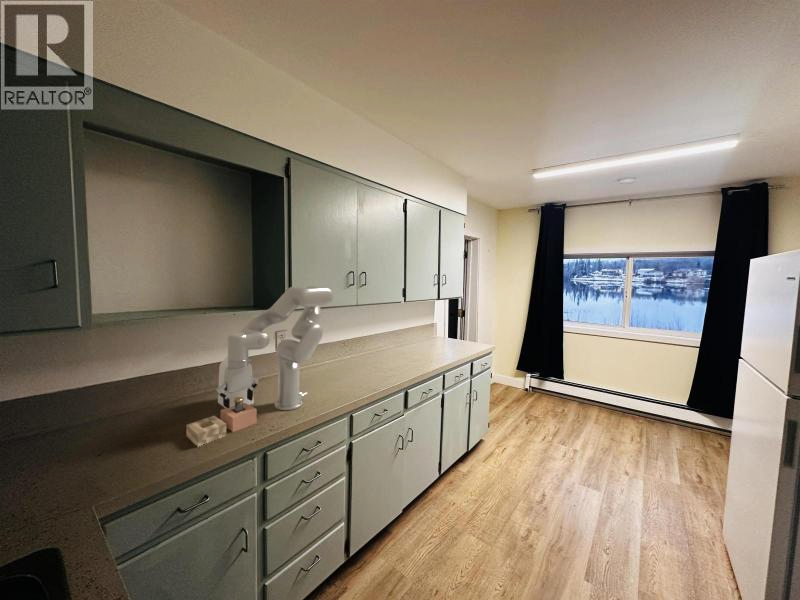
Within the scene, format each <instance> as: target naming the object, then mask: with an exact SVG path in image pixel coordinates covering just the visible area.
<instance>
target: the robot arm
mask: <svg viewBox="0 0 800 600" xmlns="http://www.w3.org/2000/svg"><path fill="white" fill-rule="evenodd" d="M333 298H334V293H333V292H332V290H331V289H330V288H329V287H325V286H318V285H308V286H306V287H301V286H290V287H288V289H286V290H285V292H284V293H283V294H282V295H280V297H279V298H278V299H277V301H275V303H273V305H272V306H271V307H269V308H267V310H265V311H263V312H261V313H259V314H258V315H256V316H255V317H253V318H252V319H251V320H250V321H249V322H248V323H247V324H246V325H245V326H244V327H243V328H242V330H241V331H240V332H233V333H230V334H229V335H228V336H227V356H228V367H226V369H225V374H224V383H223V385H221V386H220V387H219V386H218V387H219V388H218V387H217V388H216V389H215V392H216V393H217V395H218V394H219V395H220V396H221V397H223V405H224V406H225V407H226V408H229V407H230V399H229V398H228V397H229V396H230V394H231V393H234V392H237V391H241V390H244V389H247V388H248V390H247V399H248V400H250V401H252V400H253V395H254V391H255V388H257V386H258V384H259V380H260V379H259V378H257V377H254V376H253V372H252V373H251V368H250V365H249V363H250V362H251V361H252V358H251V357H249V351H250V350H251V351H252V350H262V349H265V348H266V347H267V346H268V345H269V344H270V341H271V340H270V336H269V335H268V334H267V333H266V332H264V330H265V329H266V328H268V327H270V326H272V325H275V324H276V325H277V324H280V323H282V322H285V321H286V320H288V318H289V317H290V316H291V315H292V314H293V312H295V310H296V309H297V308H298V307H299V306H300V307H304V309H303V310H302V313H301V314H300V316H299V318H298V319H297V320H296V322H294V323H295V324H294V325H293V327H292V329H291V332H290V333H291V335H292V337H293V338H294V339H295V340H293V339H291V338H289V339H288V338H285V339H282V340H280V342H278V343H277V346H276V350H275V353H276V360H277V371H278V373H277V379H278V380H277V388H278V389H277V400H276V401H275V402H274V408H275V409H277V410H279V411H291V410H296V409H298V408H300V407H301V406H302V405H303V400H302V399H303V398H305V397H307V396H308V394H309V393H308V392H307V391H306V392H302V391H300V371H301V370H300V365H305V363H307V362H308V361H309V360H310V358H311V357H312V356H313V353H314V352H315V351H316V349H317V347H318V346H319V344H320V342H321V340H322V338H323V328H322V327H321V325H320V324H319V323H318V322H319V320H320V318H321V314H322V310H321V309H322V308H321V306H326V305H329V304H331V302H332V301H333ZM297 340H299V341H297ZM252 380H253V384H252ZM223 389H224V390H225V392H224V393H222V390H223ZM225 407H224V408H225Z"/></svg>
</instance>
